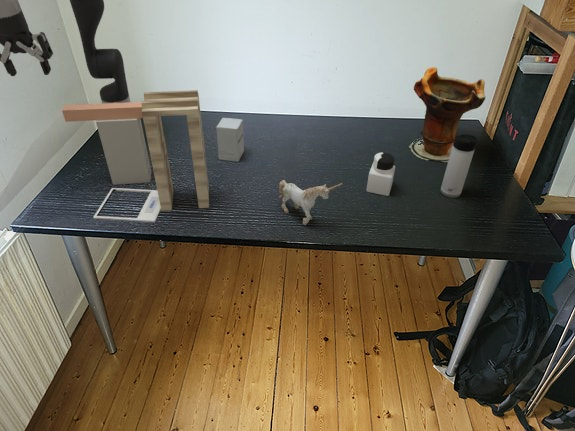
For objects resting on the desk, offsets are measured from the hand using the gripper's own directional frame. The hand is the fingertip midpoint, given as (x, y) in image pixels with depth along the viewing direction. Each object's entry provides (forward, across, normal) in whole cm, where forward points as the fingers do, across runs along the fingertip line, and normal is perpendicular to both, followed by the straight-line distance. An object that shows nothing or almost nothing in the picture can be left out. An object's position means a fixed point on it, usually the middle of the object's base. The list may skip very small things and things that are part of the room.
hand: (30, 74), depth 119 cm
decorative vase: (+43, -121, -18) cm, 130 cm away
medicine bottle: (+40, -96, +5) cm, 104 cm away
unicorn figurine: (+38, -72, +17) cm, 83 cm away
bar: (+16, -15, -5) cm, 23 cm away
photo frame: (+38, -19, +11) cm, 44 cm away
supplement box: (+41, -48, -16) cm, 65 cm away
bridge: (+38, -35, +9) cm, 52 cm away
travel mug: (+40, -118, +9) cm, 125 cm away
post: (+38, -16, -3) cm, 42 cm away
